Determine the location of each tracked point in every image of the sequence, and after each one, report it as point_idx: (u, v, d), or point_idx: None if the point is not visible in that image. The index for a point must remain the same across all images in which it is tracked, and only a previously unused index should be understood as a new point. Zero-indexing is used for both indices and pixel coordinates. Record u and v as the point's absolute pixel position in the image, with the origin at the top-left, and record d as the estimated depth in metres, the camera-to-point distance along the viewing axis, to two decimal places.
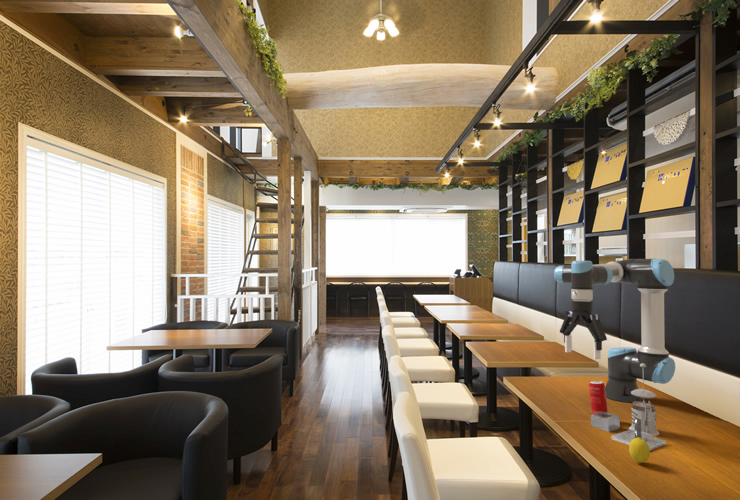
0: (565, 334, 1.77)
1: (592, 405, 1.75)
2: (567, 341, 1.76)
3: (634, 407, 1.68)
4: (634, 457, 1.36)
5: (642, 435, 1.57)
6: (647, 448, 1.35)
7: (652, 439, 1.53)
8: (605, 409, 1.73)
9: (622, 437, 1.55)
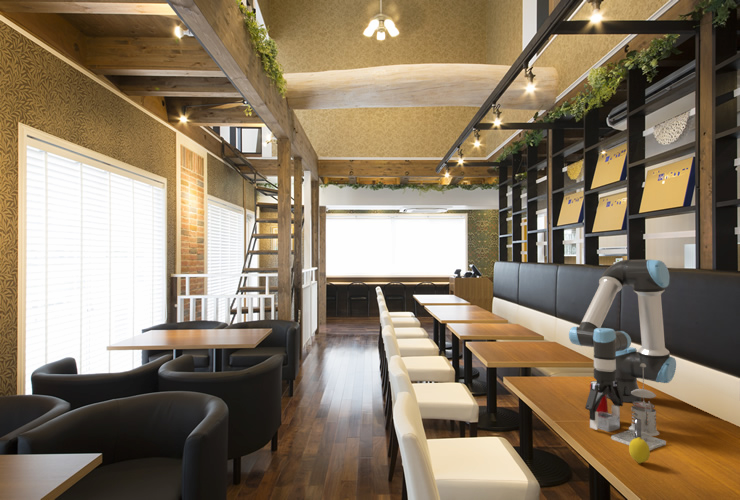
0: (613, 403, 1.72)
1: None
2: (613, 410, 1.72)
3: (634, 407, 1.68)
4: (634, 457, 1.36)
5: (642, 435, 1.57)
6: (647, 448, 1.35)
7: (652, 439, 1.53)
8: (605, 409, 1.73)
9: (622, 437, 1.55)
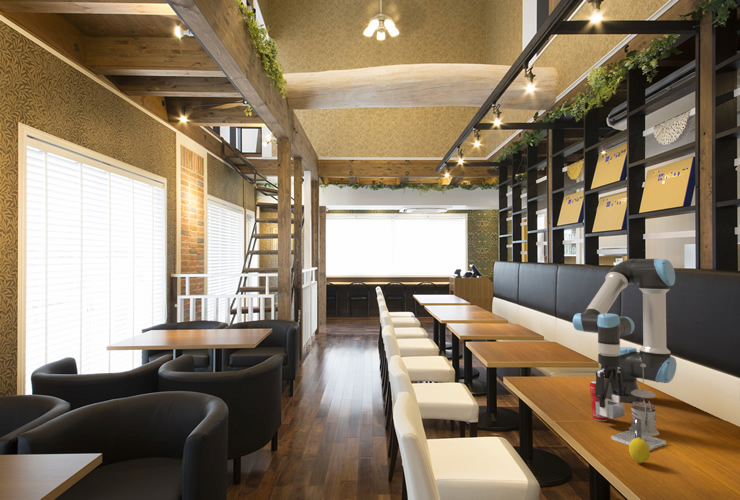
0: (613, 392, 1.73)
1: (593, 405, 1.76)
2: (613, 400, 1.72)
3: (634, 407, 1.68)
4: (634, 457, 1.36)
5: (642, 435, 1.57)
6: (647, 448, 1.35)
7: (652, 439, 1.53)
8: None
9: (622, 437, 1.55)
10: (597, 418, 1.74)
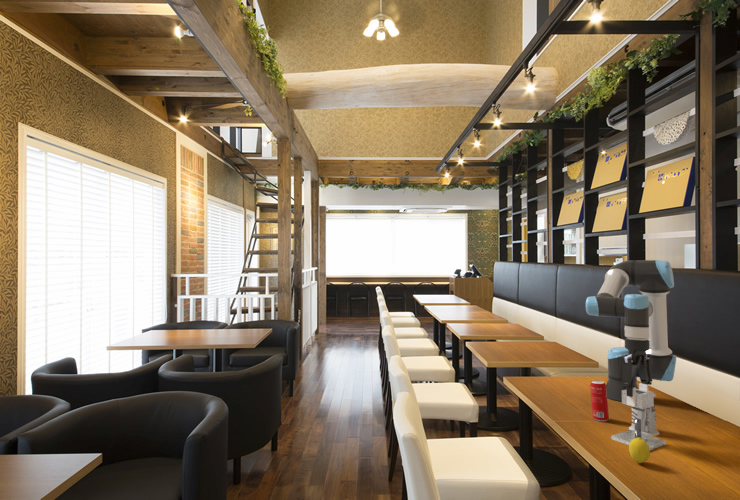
0: None
1: (593, 405, 1.76)
2: (640, 389, 1.57)
3: (634, 407, 1.68)
4: (634, 457, 1.36)
5: (642, 435, 1.57)
6: (647, 448, 1.35)
7: (652, 439, 1.53)
8: (606, 409, 1.74)
9: (622, 437, 1.55)
10: (597, 418, 1.74)
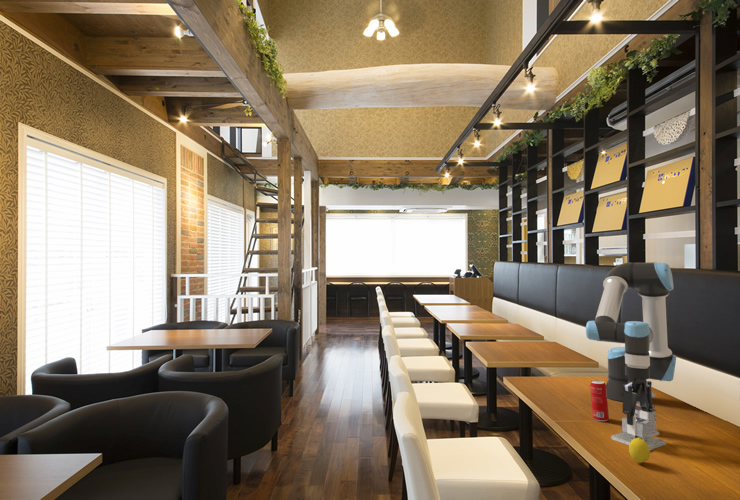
0: (641, 408, 1.57)
1: (593, 405, 1.76)
2: None
3: None
4: (634, 457, 1.36)
5: None
6: (647, 448, 1.35)
7: (652, 439, 1.53)
8: (606, 409, 1.74)
9: (622, 437, 1.55)
10: (597, 418, 1.74)
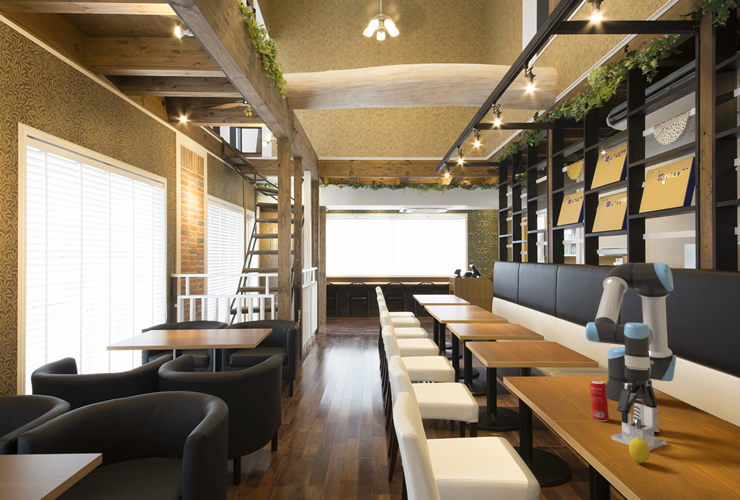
0: (645, 404, 1.59)
1: (593, 405, 1.76)
2: (645, 413, 1.58)
3: None
4: (634, 457, 1.36)
5: None
6: (647, 448, 1.35)
7: None
8: (606, 409, 1.74)
9: (622, 437, 1.55)
10: (597, 418, 1.74)
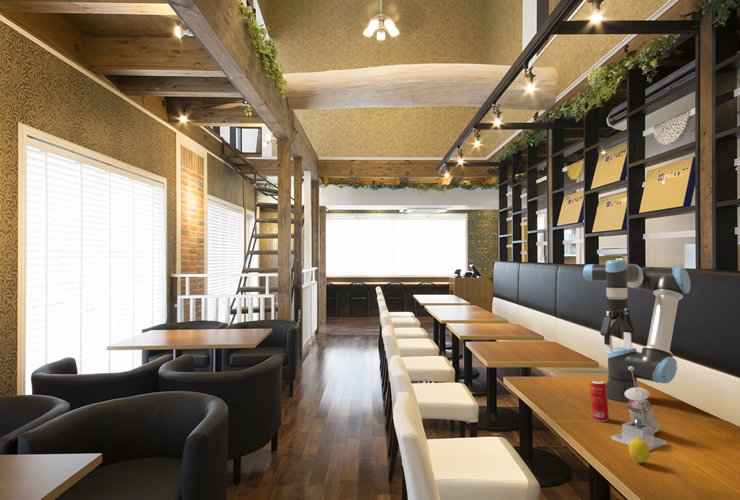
0: None
1: (593, 405, 1.76)
2: (624, 337, 1.82)
3: None
4: (634, 457, 1.36)
5: None
6: (647, 448, 1.35)
7: None
8: (606, 409, 1.74)
9: (622, 437, 1.55)
10: (597, 418, 1.74)
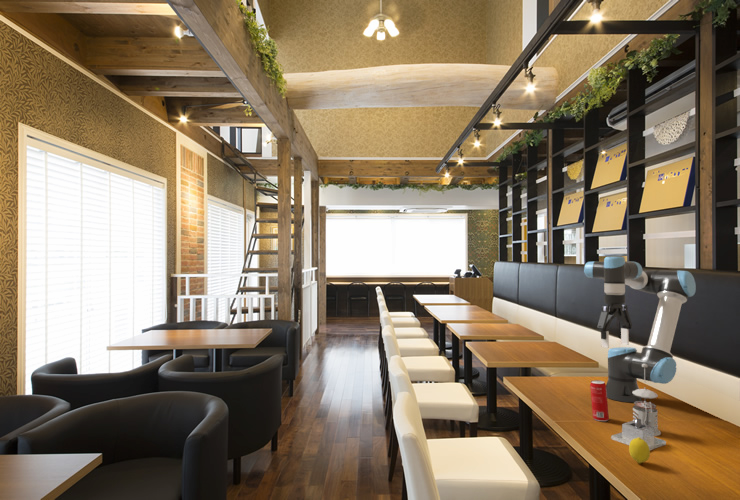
0: (622, 327, 1.85)
1: (593, 405, 1.76)
2: (622, 333, 1.84)
3: (636, 406, 1.68)
4: (634, 457, 1.36)
5: None
6: (647, 448, 1.35)
7: None
8: (606, 409, 1.74)
9: (622, 437, 1.55)
10: (597, 418, 1.74)
